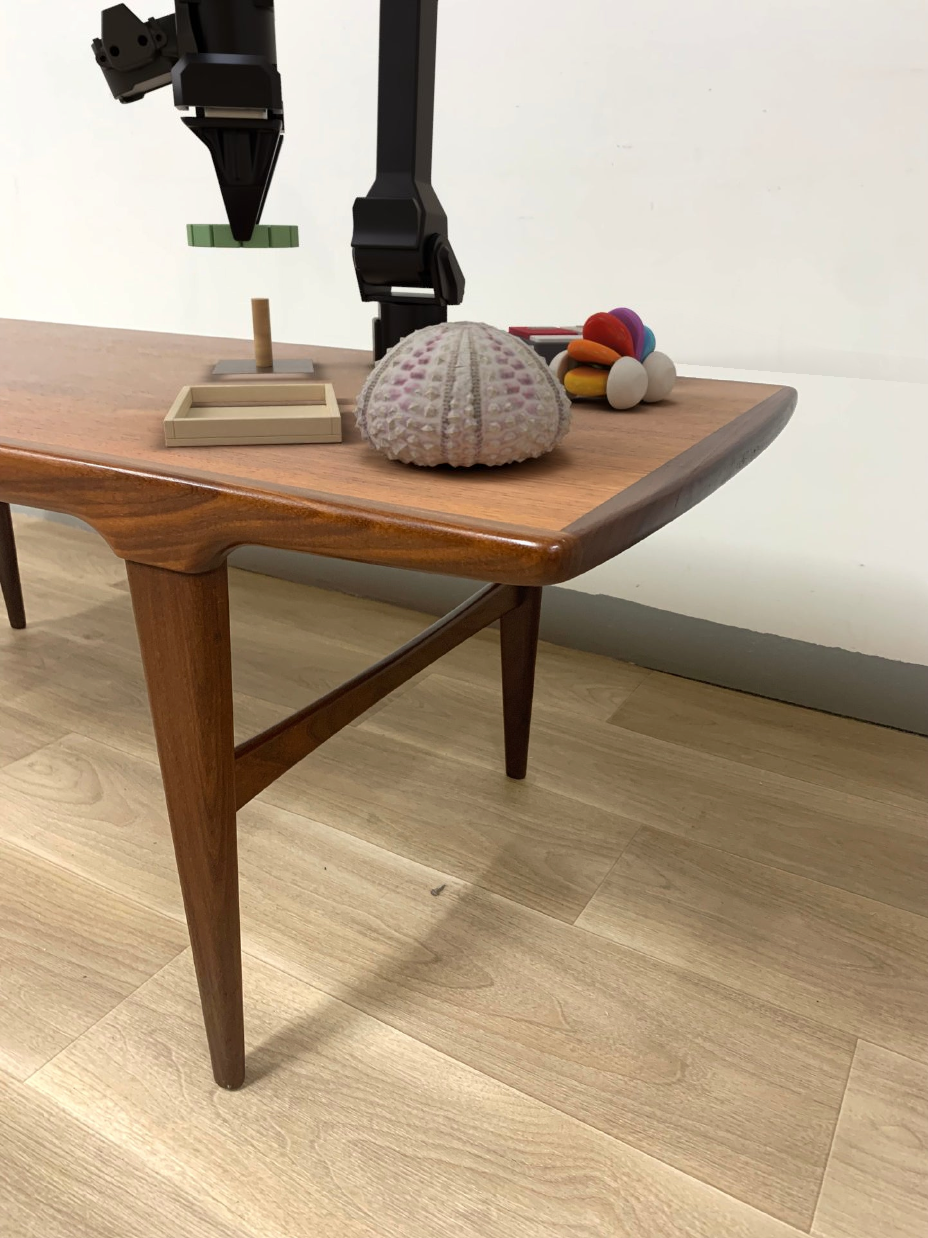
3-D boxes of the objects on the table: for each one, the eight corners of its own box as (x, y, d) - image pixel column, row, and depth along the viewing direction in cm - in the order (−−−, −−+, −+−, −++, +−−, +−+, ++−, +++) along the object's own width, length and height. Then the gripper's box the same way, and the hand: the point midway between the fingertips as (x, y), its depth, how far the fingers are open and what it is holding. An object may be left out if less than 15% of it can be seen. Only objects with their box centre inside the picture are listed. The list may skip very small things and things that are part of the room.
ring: (298, 245, 71) (297, 224, 70) (299, 248, 64) (298, 225, 63) (193, 244, 69) (191, 223, 69) (182, 247, 63) (180, 224, 62)
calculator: (607, 323, 98) (656, 332, 84) (605, 366, 99) (652, 383, 85) (502, 324, 96) (534, 333, 82) (501, 367, 98) (532, 384, 84)
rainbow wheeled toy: (531, 401, 77) (535, 307, 74) (601, 387, 84) (607, 300, 81) (619, 416, 72) (626, 316, 69) (686, 400, 78) (695, 308, 76)
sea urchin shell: (311, 456, 59) (304, 321, 56) (452, 423, 69) (453, 307, 66) (479, 495, 51) (481, 341, 48) (610, 452, 61) (620, 322, 58)
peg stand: (312, 364, 94) (308, 294, 92) (314, 379, 86) (310, 302, 84) (219, 365, 93) (212, 294, 90) (212, 380, 85) (205, 302, 82)
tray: (333, 405, 75) (332, 383, 74) (341, 442, 63) (340, 416, 62) (185, 408, 73) (183, 385, 72) (166, 446, 61) (163, 420, 60)
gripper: (118, -2, 68) (143, 235, 74) (60, -75, 51) (99, 241, 57) (278, 6, 69) (290, 237, 75) (273, -62, 52) (289, 244, 58)
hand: (245, 239), depth 66 cm, fingers closed on ring, 7 cm apart
